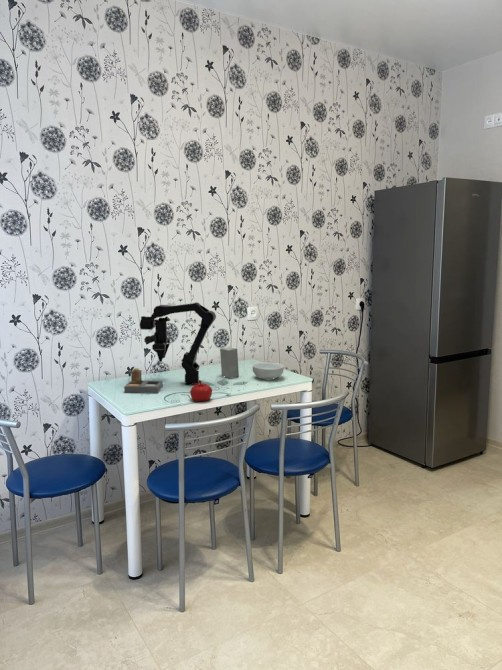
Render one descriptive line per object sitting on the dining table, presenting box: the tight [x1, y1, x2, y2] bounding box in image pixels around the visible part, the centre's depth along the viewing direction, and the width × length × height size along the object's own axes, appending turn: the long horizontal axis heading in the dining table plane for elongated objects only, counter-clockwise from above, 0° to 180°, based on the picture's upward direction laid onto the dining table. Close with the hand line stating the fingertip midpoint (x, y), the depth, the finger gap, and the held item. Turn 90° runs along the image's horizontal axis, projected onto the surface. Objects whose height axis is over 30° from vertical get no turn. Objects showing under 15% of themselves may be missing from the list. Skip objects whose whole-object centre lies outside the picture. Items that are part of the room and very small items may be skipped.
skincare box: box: [219, 346, 240, 379], centre depth 273 cm, size 8×7×16 cm
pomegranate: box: [189, 379, 213, 402], centre depth 231 cm, size 10×10×9 cm
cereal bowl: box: [252, 361, 285, 380], centre depth 271 cm, size 17×17×7 cm
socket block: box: [123, 379, 164, 394], centre depth 247 cm, size 16×12×3 cm
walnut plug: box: [130, 367, 142, 384], centre depth 248 cm, size 4×4×9 cm
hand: (162, 359), depth 259 cm, fingers open, 9 cm apart
